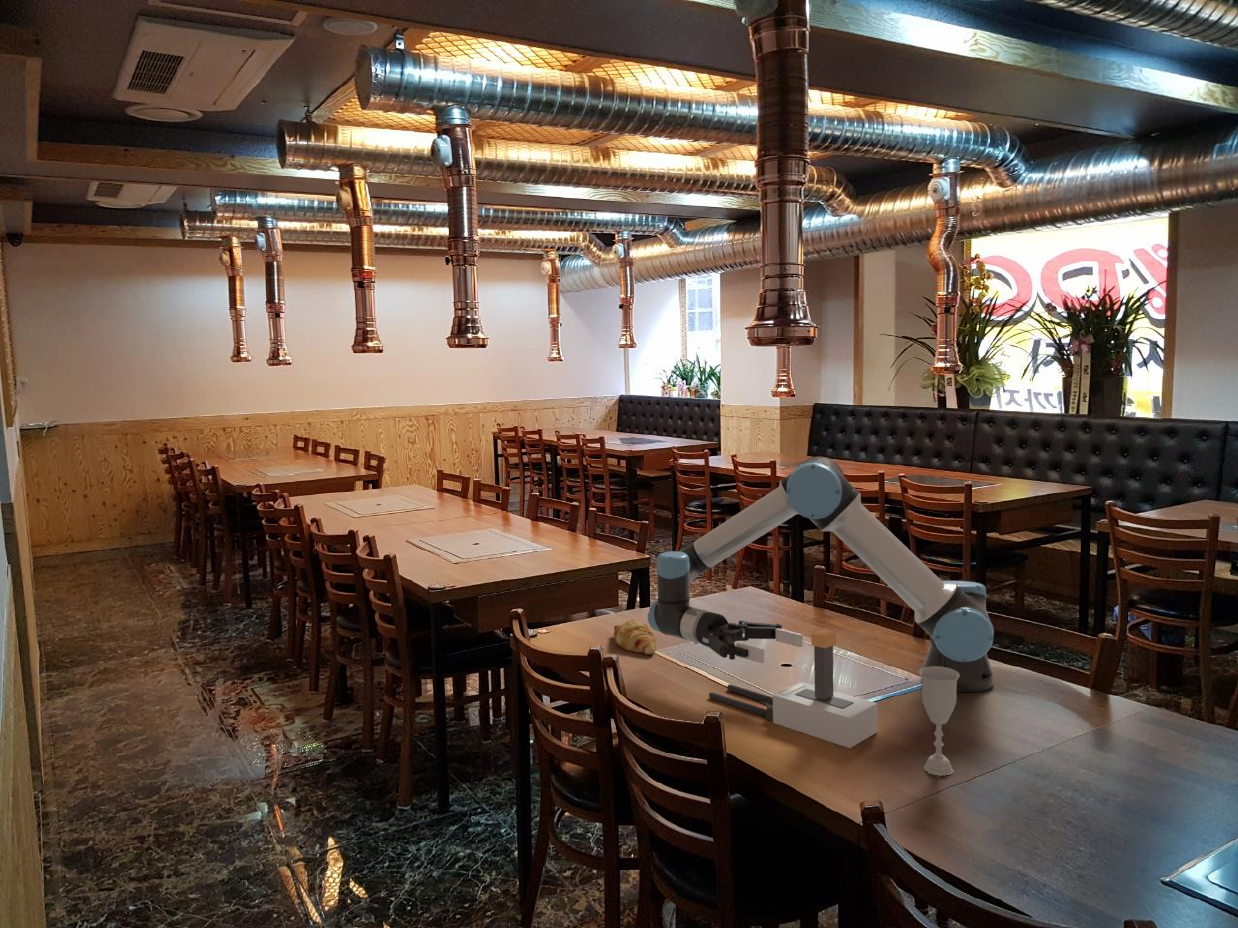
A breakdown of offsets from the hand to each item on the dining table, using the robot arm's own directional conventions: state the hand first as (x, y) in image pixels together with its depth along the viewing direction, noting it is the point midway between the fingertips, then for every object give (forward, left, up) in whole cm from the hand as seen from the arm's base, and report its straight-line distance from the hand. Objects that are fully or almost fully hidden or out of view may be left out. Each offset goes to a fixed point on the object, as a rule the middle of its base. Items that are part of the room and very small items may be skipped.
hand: (782, 648), depth 182 cm
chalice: (-26, +24, -15) cm, 38 cm away
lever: (-8, +6, -8) cm, 13 cm away
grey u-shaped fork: (+6, -6, -14) cm, 17 cm away
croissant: (+36, -45, -15) cm, 60 cm away
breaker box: (-8, +6, -14) cm, 18 cm away
